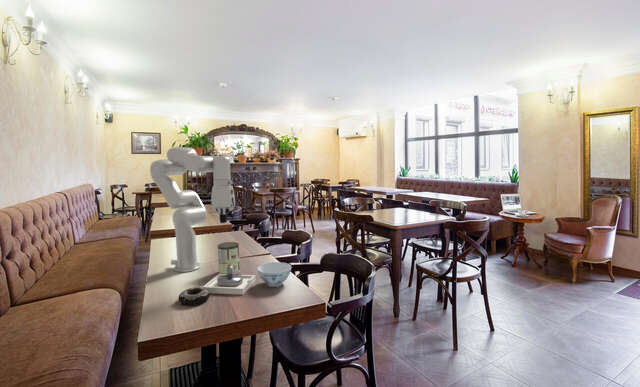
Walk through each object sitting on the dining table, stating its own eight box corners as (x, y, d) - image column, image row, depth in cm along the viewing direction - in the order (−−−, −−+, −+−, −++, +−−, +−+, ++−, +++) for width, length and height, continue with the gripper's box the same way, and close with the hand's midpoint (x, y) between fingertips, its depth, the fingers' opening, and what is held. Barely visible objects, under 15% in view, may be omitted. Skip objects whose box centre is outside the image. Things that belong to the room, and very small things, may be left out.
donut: (188, 294, 137) (187, 285, 137) (214, 295, 136) (214, 286, 135) (172, 306, 126) (172, 296, 125) (201, 308, 124) (201, 297, 124)
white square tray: (202, 292, 138) (202, 286, 138) (218, 279, 154) (218, 273, 154) (243, 294, 136) (243, 287, 136) (255, 280, 152) (255, 274, 151)
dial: (241, 286, 140) (241, 270, 139) (215, 288, 139) (214, 272, 138) (244, 276, 152) (243, 261, 151) (219, 278, 150) (219, 263, 150)
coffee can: (226, 267, 170) (225, 241, 169) (243, 269, 167) (242, 242, 165) (214, 274, 161) (213, 246, 159) (232, 276, 157) (231, 248, 156)
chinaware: (254, 280, 151) (254, 264, 151) (285, 276, 157) (285, 260, 157) (262, 292, 138) (261, 275, 137) (296, 287, 144) (295, 270, 143)
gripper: (240, 182, 152) (242, 221, 153) (212, 182, 155) (214, 220, 157) (232, 184, 144) (233, 224, 146) (203, 183, 148) (204, 223, 150)
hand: (223, 222), depth 152 cm, fingers closed
